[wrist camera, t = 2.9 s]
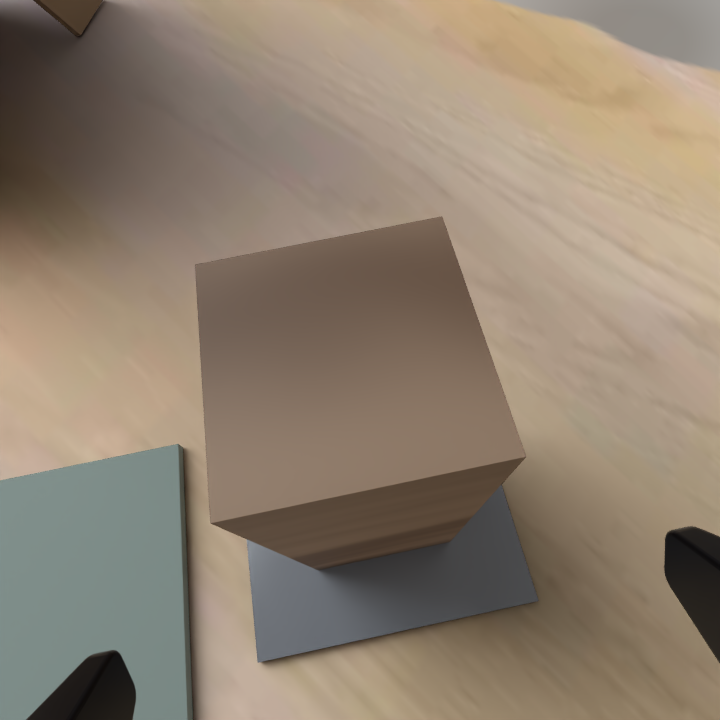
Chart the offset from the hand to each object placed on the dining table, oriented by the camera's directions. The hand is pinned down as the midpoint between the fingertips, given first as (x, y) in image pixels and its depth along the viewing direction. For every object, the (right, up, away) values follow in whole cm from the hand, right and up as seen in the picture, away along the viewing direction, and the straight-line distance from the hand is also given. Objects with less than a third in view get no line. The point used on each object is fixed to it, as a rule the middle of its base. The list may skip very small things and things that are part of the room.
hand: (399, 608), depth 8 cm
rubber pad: (-12, -5, +11) cm, 17 cm away
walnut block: (0, -1, +12) cm, 12 cm away
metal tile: (0, -1, +12) cm, 12 cm away
